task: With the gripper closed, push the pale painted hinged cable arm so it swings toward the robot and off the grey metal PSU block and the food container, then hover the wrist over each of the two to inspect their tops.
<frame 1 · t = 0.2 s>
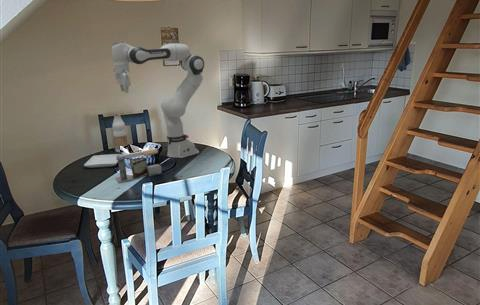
hand: (124, 92, 232), 48 cm above the table, fingers open, 8 cm apart
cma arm: (137, 154, 220), point 14 cm above the table, hinge at 0.0°
rack post: (124, 179, 219), on the table
food container: (138, 175, 226), on the table
fruit juice: (122, 150, 276), on the table
salad plate: (105, 164, 250), on the table
psu block: (154, 173, 227), on the table
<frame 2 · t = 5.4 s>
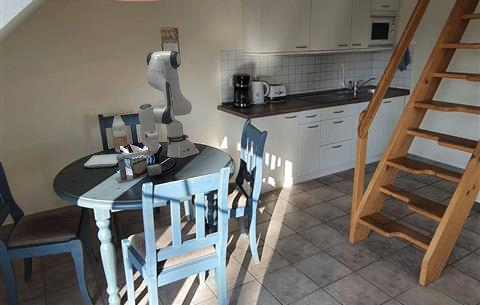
hand: (151, 154, 221), 13 cm above the table, fingers closed
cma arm: (137, 153, 220), point 14 cm above the table, hinge at 3.5°, touching gripper
everything else where it was.
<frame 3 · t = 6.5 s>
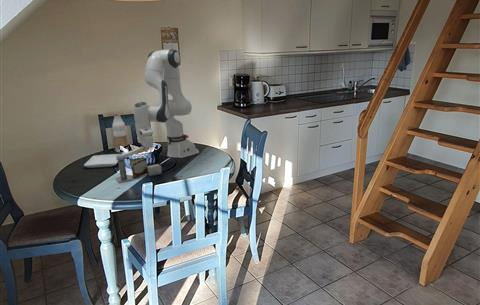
hand: (146, 151, 227), 13 cm above the table, fingers closed
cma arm: (132, 152, 223), point 14 cm above the table, hinge at 31.2°, touching gripper
everything else where it was.
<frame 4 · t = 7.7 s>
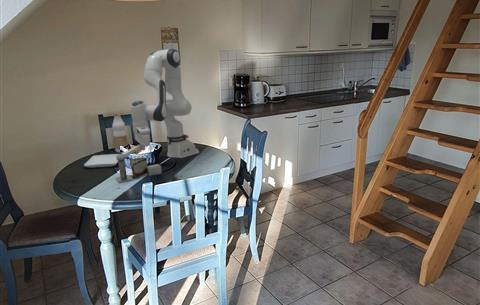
hand: (143, 149, 230), 13 cm above the table, fingers closed
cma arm: (129, 152, 224), point 14 cm above the table, hinge at 43.7°, touching gripper
everything else where it was.
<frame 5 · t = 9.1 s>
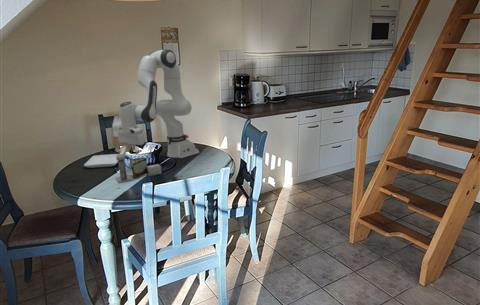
hand: (132, 150, 232), 13 cm above the table, fingers closed
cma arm: (123, 152, 224), point 14 cm above the table, hinge at 67.8°, touching gripper
everything else where it was.
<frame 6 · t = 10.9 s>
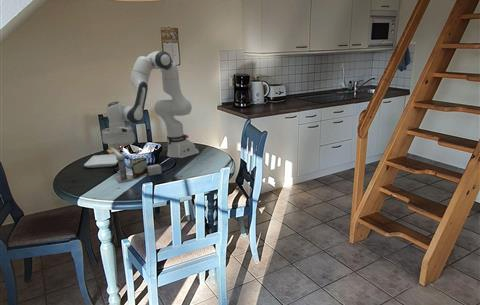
hand: (120, 149, 233), 13 cm above the table, fingers closed
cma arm: (116, 153, 223), point 14 cm above the table, hinge at 91.2°, touching gripper
everything else where it was.
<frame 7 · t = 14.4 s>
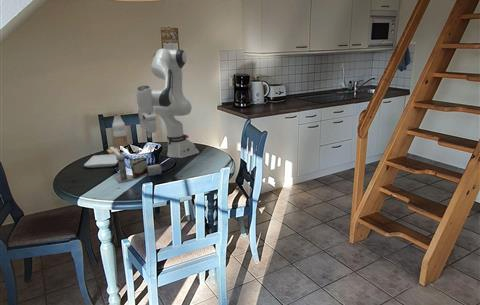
hand: (149, 137, 220), 23 cm above the table, fingers closed
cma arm: (116, 153, 223), point 14 cm above the table, hinge at 91.2°
everything else where it was.
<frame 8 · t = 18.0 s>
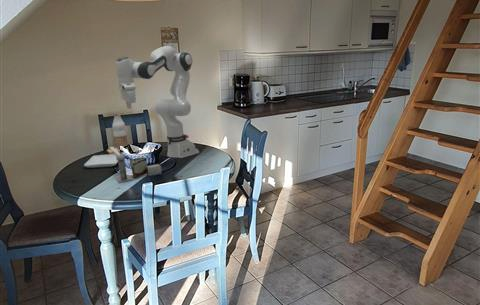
hand: (129, 108, 225), 39 cm above the table, fingers closed
nothing on the table moved.
at the end: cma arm at +91° (first picture: +0°); psu block moved 0.2 cm from its start; food container moved 0.4 cm from its start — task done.
